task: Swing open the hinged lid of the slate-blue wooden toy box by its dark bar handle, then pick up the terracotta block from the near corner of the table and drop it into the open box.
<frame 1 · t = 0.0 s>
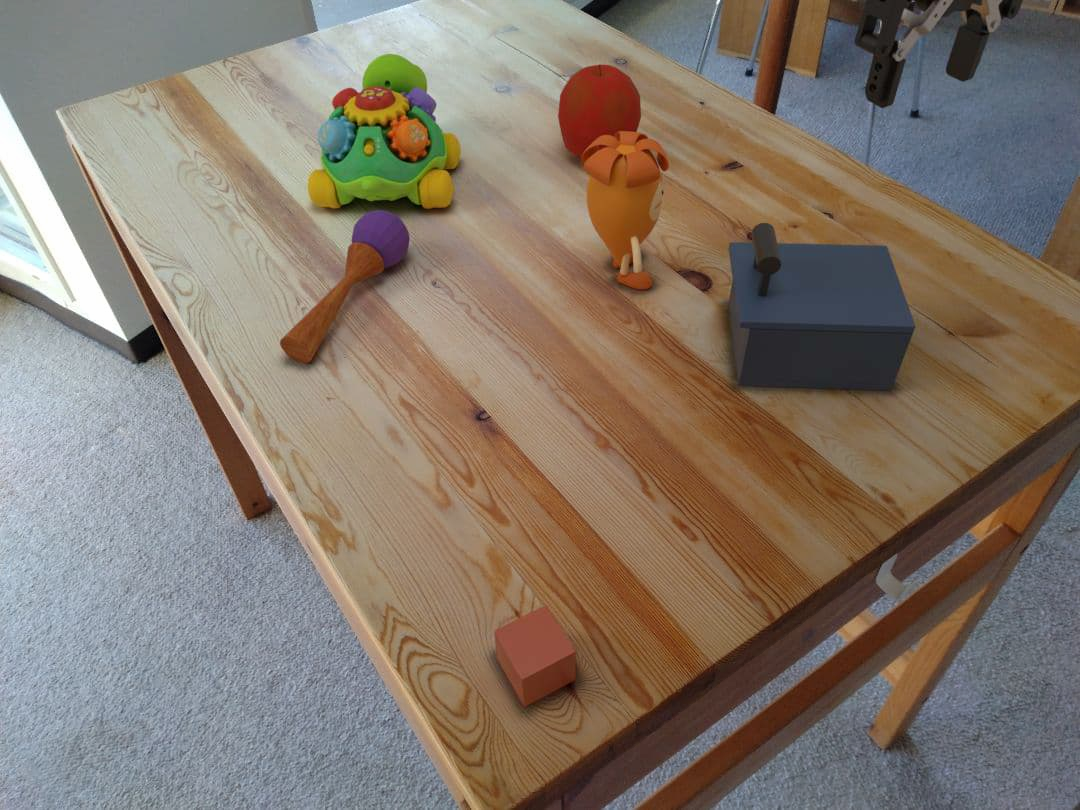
hand: (919, 89, 66), 24 cm above the table, tool pointing down, fingers open, 8 cm apart
block: (536, 669, 59), on the table
toy figure: (617, 274, 90), on the table
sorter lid: (821, 265, 74), point 9 cm above the table, hinge at 0.0°
turtle toy: (393, 175, 105), on the table
purple toy maraca: (352, 302, 87), on the table
apple: (597, 155, 107), on the table
sorter box: (805, 345, 81), on the table
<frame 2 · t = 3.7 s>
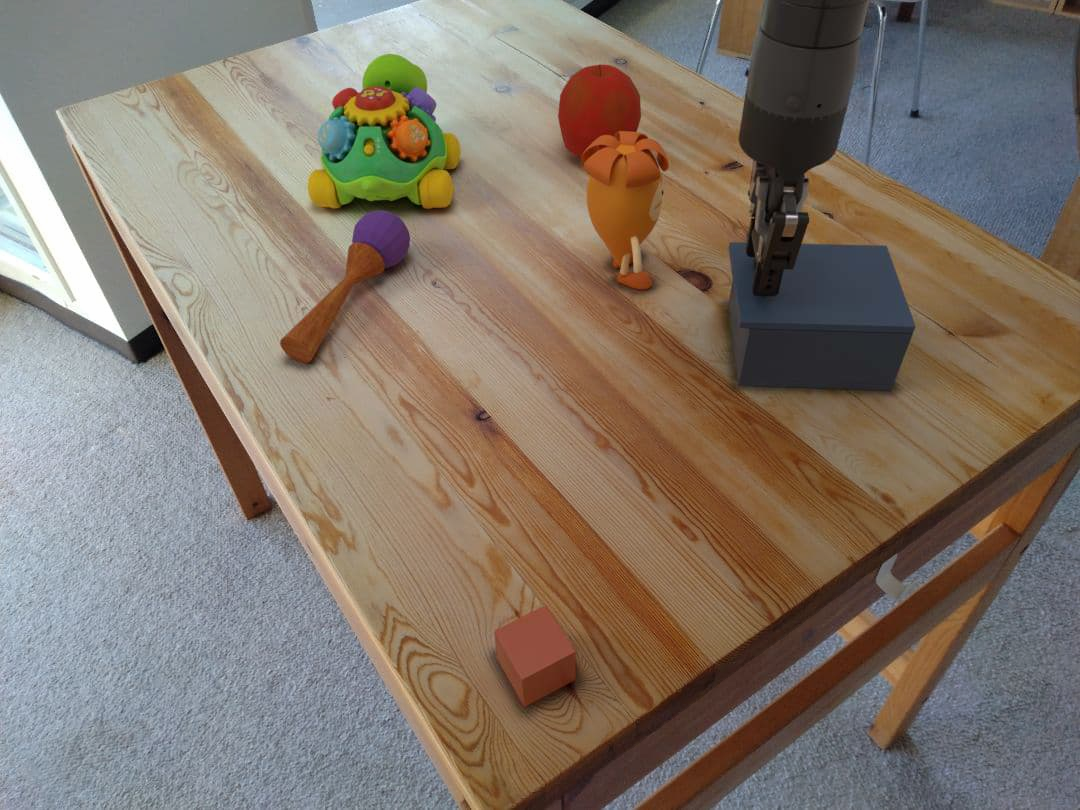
hand: (760, 272, 75), 8 cm above the table, tool pointing down, fingers closed on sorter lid, 5 cm apart
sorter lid: (821, 265, 74), point 9 cm above the table, hinge at 0.0°, touching gripper
everything else where it was.
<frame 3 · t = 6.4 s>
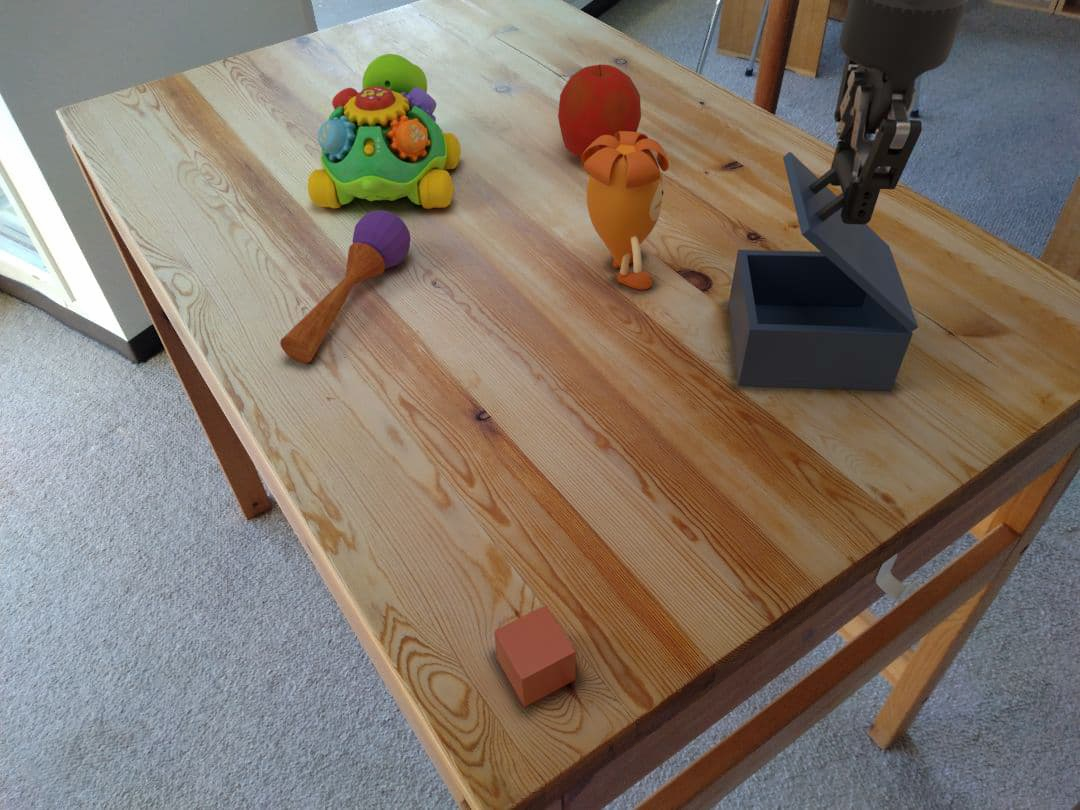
hand: (847, 201, 69), 16 cm above the table, tool pointing down, fingers closed on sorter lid, 5 cm apart
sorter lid: (872, 224, 71), point 14 cm above the table, hinge at 41.3°, touching gripper
everything else where it was.
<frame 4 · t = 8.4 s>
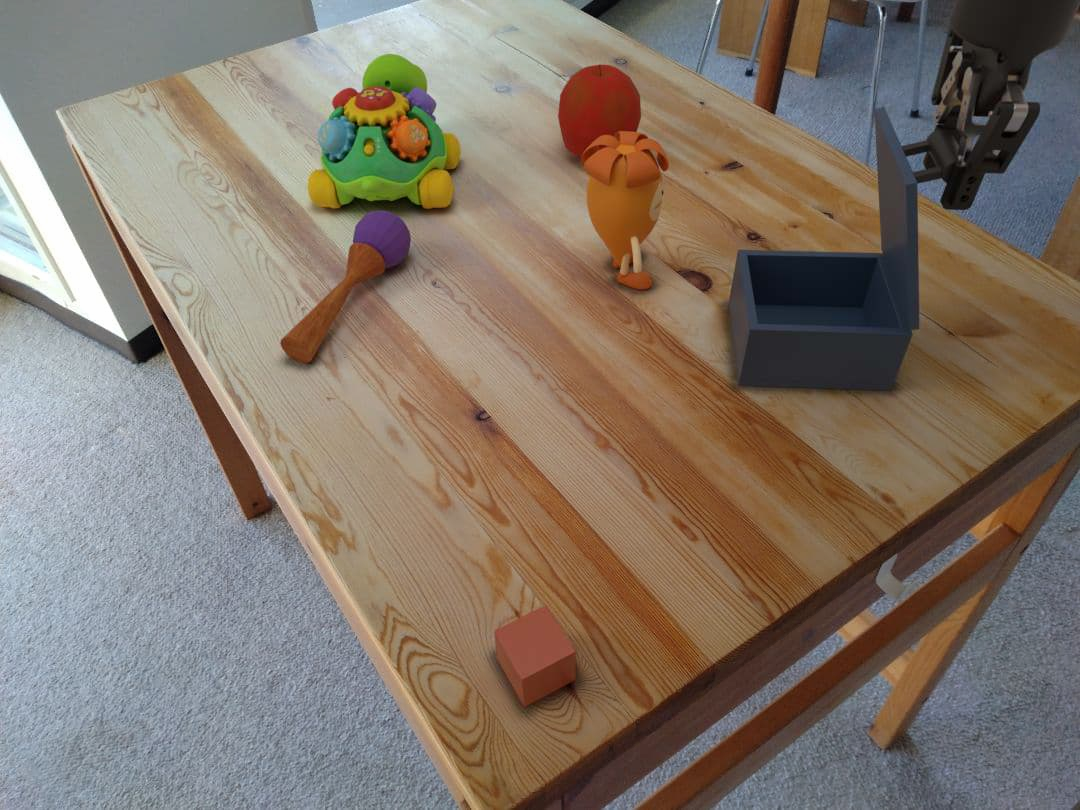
hand: (945, 186, 68), 17 cm above the table, tool pointing down, fingers closed on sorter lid, 5 cm apart
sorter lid: (925, 214, 70), point 15 cm above the table, hinge at 73.3°, touching gripper
everything else where it was.
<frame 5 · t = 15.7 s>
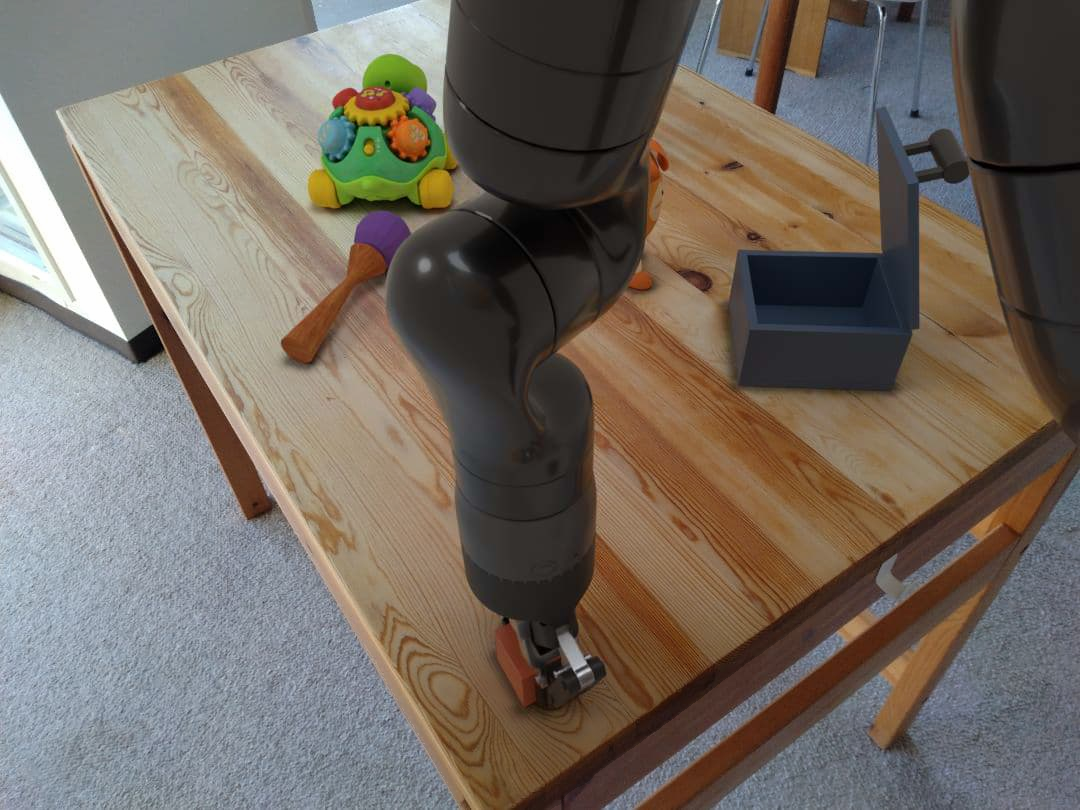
hand: (535, 667, 58), 0 cm above the table, tool pointing down, fingers closed on block, 4 cm apart
block: (536, 669, 59), on the table, touching gripper
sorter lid: (926, 214, 70), point 15 cm above the table, hinge at 73.8°
everything else where it was.
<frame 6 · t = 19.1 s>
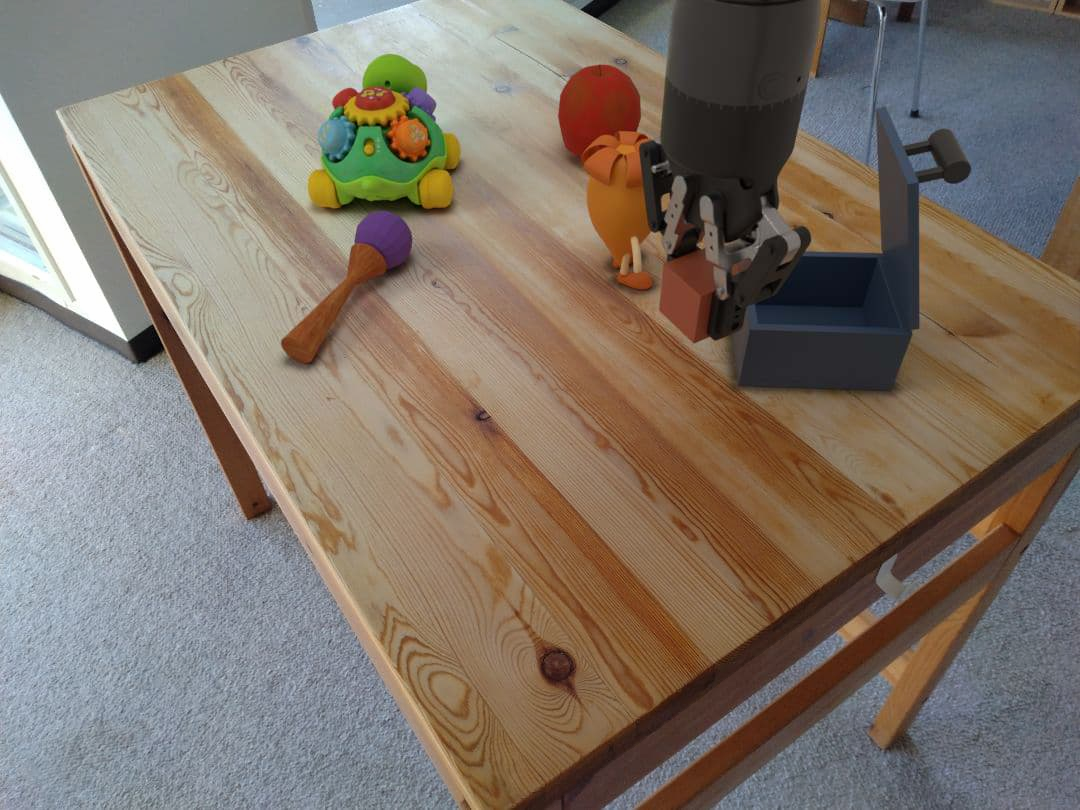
hand: (700, 313, 57), 18 cm above the table, tool pointing down, fingers closed on block, 4 cm apart
block: (699, 316, 58), point 17 cm above the table, touching gripper
everything else where it was.
when the fingers open (13 cm above the table, at t = 22.5 s): block drops 12 cm, resting on sorter box.
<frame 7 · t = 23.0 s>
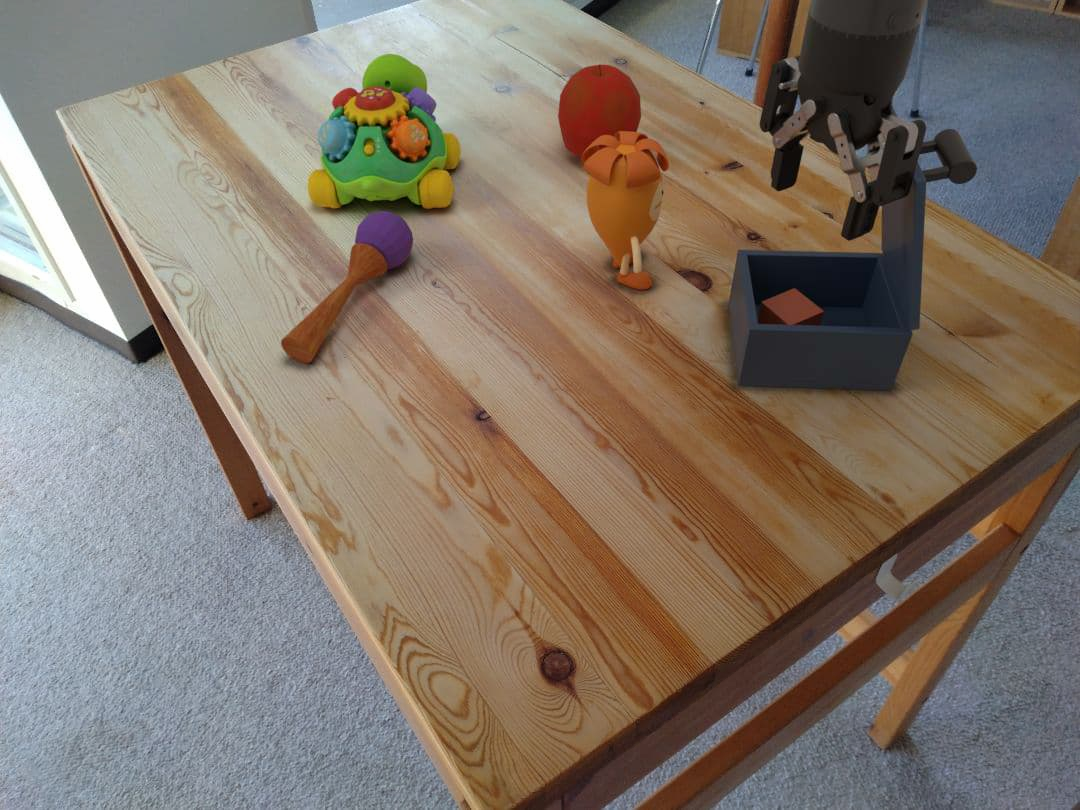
hand: (816, 210, 70), 15 cm above the table, tool pointing down, fingers open, 8 cm apart
block: (784, 339, 80), point 1 cm above the table, touching sorter box
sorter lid: (929, 214, 70), point 15 cm above the table, hinge at 75.7°
everything else where it was.
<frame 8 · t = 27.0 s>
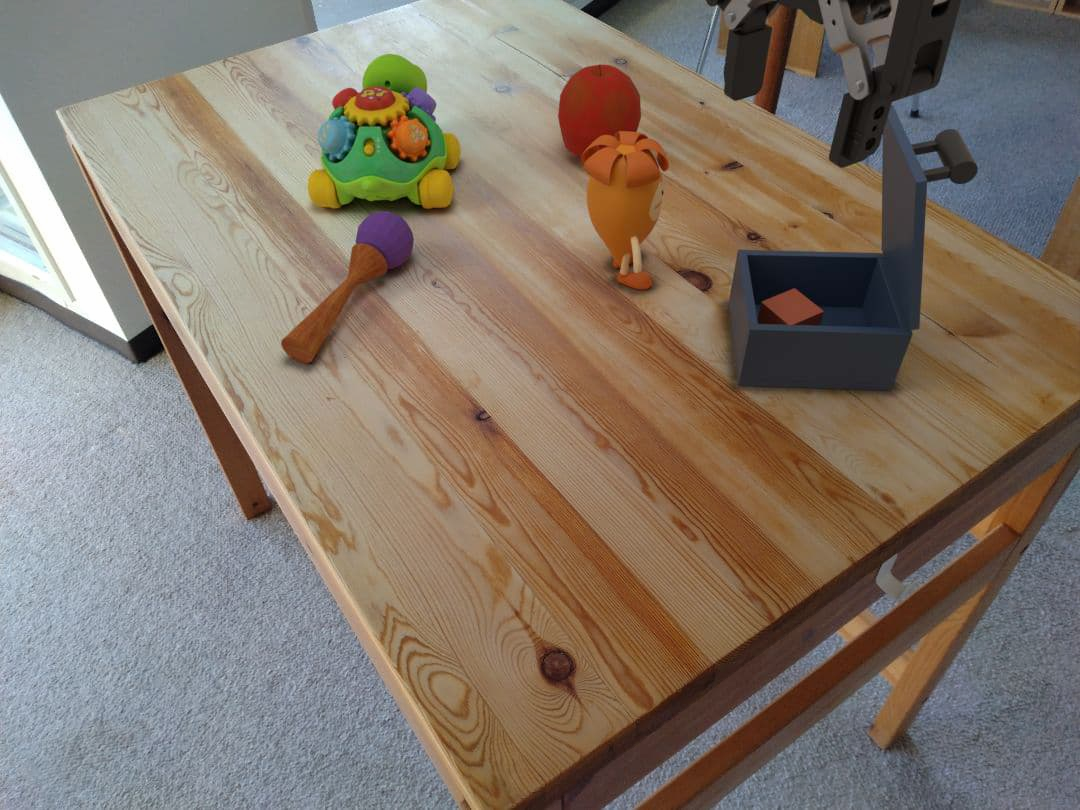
hand: (791, 126, 46), 32 cm above the table, tool pointing down, fingers open, 8 cm apart
nothing on the table moved.
at the end: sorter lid at +76° (first picture: +0°); block inside the target area in the sorter box (2.1 cm from its centre), point 0.8 cm above the sorter box's base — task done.
